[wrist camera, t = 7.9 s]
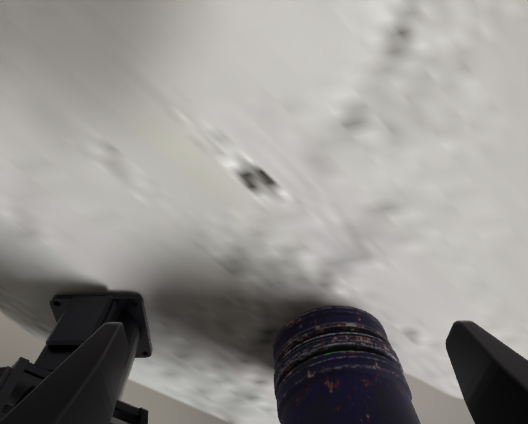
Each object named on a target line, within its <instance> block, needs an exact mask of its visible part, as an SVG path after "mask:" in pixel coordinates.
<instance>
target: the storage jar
mask: <svg viewBox="0 0 528 424" xmlns="http://www.w3.org/2000/svg"><path fill="white" fill-rule="evenodd" d="M273 357H274V362H275V368H274V370H275V373H274V389H275V396H276V399H277V411H278V418H279V421H280V423H281V424H420V421H419V419H418V416H417V414H416V412H415V409H414V407H413V405H412V402H411V400H412V396H411V391H410V389H409V386H408V384H407V382H406V380H405V377H404V373H403V369H402V366H401V364H400V362H399V359H398V357H397V355H396V353H395V351H394V350H393V349H392V347H391V345H390V343H389V341H388V339H387V335H386V333H385V330H384V328H383V326H382V325H381V323H380V322H379V321H378V320H377V319H376V318H375V317H374V316H372V315H371V314H369V313H367V312H365V311H362V310H360V309H356V308H352V307H344V306H330V307H323V308H318V309H314V310H311V311H308V312H306V313H303V314H301V315H299V316H297V317H295V318H294V319H292V320H291V321H290V322H288V323H287V324H286V325H285V326H284V327H283V328H282V329H281V330H280V332H279V333H278V335H277V337H276V339H275V341H274V345H273Z"/></svg>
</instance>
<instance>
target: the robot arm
mask: <svg viewBox="0 0 528 424" xmlns="http://www.w3.org/2000/svg"><path fill="white" fill-rule="evenodd" d="M134 301H136V302H134ZM50 305H51V308H52V311H53V313H54V316H55V319H56V321H57V324H56V326H55V328H54V329H53V331H52V332H51V334H50V336H49V337H48V339H47V341H46V345H45V347H44V349H43V350H42V352H41V354H40V356H39V357H38V359H37V360H36V362H35V363H34V364H32V363H30V362H29V360H27V359H25V358H22V357H20V358H19V359H18V360H17V361H16V363H15V364H14V365H13V366H12V367H9V366H7V367H3V368H2V367H1V368H0V424H148V410H146V409H143V408H137V407H134V406H132V405H130V404H127V403H125V402H123V401H121V398H122V395H123V392H124V389H125V386H126V383H127V380H128V377H129V374H130V371H131V368H132V365H133V362H134V359H135V358H146V357H150V356H151V354H152V344H151V339H150V333H149V328H148V322H147V317H146V312H145V306H144V301H143V298H142V297H141V296H139V295H55V296H53V298H52V299H51V301H50ZM446 349H447V352H448V355H449V358H450V361H451V364H452V366H453V369H454V372H455V375H456V378H457V380H458V383H459V386H460V389H461V392H462V394H463V397H464V400H465V402H466V404H467V407H468V409H469V412H470V414H471V416H472V418H473V420H474V422H475V424H528V360H526V359H525V358H523V357H522V356H521V355H519V354H518V353H516V352H515V351H514V350H512V349H511V348H509V347H508V346H506V345H505V344H504V343H502V342H501V341H499V340H498V339H497V338H495V337H494V336H492V335H491V334H489V333H488V332H487V331H485V330H484V329H482V328H481V327H480V326H478V325H477V324H475V323H474V322H472V321H456V322H454V324H453V326H452V328H451V330H450V332H449V335H448V337H447V339H446Z"/></svg>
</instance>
